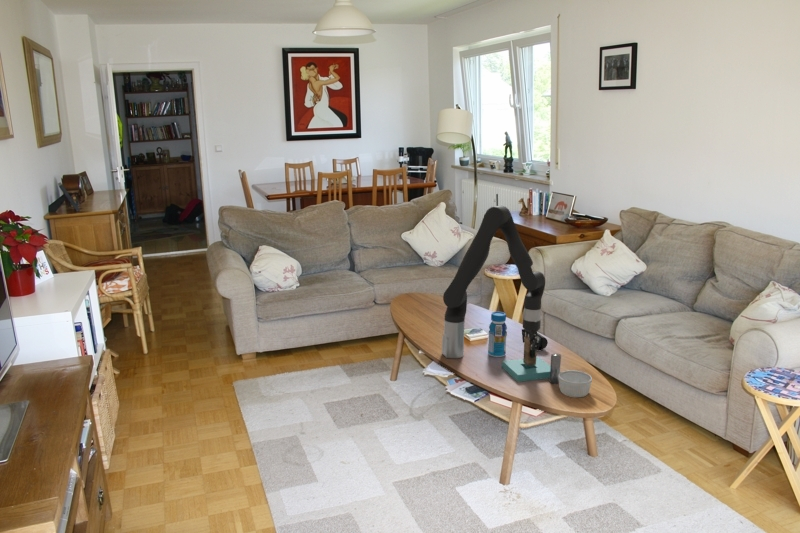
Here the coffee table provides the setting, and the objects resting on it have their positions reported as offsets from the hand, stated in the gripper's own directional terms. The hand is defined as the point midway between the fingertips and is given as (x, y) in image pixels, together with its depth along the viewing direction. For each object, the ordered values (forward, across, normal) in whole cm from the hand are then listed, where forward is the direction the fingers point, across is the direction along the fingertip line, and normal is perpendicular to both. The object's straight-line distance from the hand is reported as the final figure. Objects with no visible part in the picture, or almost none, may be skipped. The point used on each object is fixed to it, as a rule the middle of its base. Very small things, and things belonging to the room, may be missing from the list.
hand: (529, 355), depth 290 cm
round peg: (+8, +12, +6) cm, 16 cm away
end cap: (+8, -27, +17) cm, 33 cm away
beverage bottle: (+8, -23, -5) cm, 25 cm away
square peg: (+4, 0, 0) cm, 4 cm away
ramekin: (+8, +23, +9) cm, 26 cm away
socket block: (+8, 0, 0) cm, 8 cm away
